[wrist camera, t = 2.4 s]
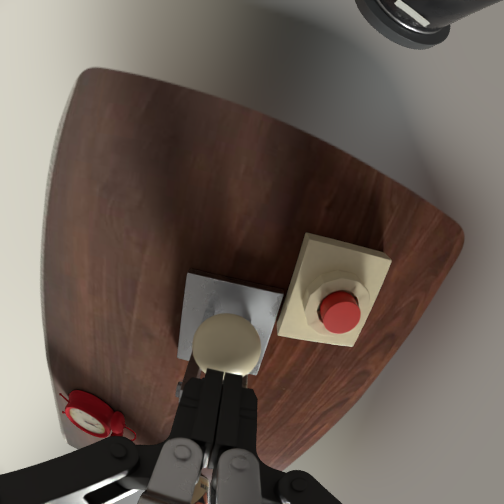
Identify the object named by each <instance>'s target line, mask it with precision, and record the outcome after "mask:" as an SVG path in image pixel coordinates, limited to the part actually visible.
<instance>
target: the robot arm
mask: <svg viewBox="0 0 504 504" xmlns="http://www.w3.org/2000/svg"><path fill="white" fill-rule="evenodd" d="M500 1H502V0H375V2H376V4H377V5H378V6H379V8H380V9H381V10H382V11H383V12H384V13H385V14H386V15H387V16H388V17H389V18H390V19H391V20H392V21H394V22H395V23H396V24H398V25H399V26H401V27H403V28H404V29H406V30H408V31H411V32H413V33H417V34H421V35H431V34H434V33H436V32H438V31H440V30H441V29H442V28H444V27H445V26H447V25H449V24H452V23H454V22H456V21H458V20H460V19H462V18H464V17H466V16H468V15H470V14H472V13H475V12H477V11H479V10H481V9H483V8H486V7H488V6H490V5H493V4H495V3H497V2H500ZM223 376H224V379H223ZM242 379H243V375H239V374H234V373H229V372H225V375H224V372H223V371H219V370H214V369H209V368H207V370H206V375H205V379H204V380H203V379H199V378H194V377H192V378H191V379H190V380H189V381H188V382H187V383H186V384H185V385H184V388H183V391H182V395H181V398H180V402H179V405H178V409H177V412H176V416H175V419H174V423H173V426H172V430H171V433H170V435H169V437H168V438H167V439H166V440H165V441H164V442H162V443H159V444H156V445H135V444H134V443H133V442H132V441H131V440H130V439H128V438H126V437H123V436H110V437H108V438H105V439H103V440H101V441H98V442H96V443H93V444H91V445H89V446H86V447H84V448H81V449H79V450H76V451H73V452H71V453H68V454H66V455H63V456H61V457H57V458H54V459H52V460H49V461H46V462H43V463H40V464H37V465H34V466H30V467H27V468H24V469H20V470H17V471H13V472H9V473H6V474H2V475H0V504H112V503H114V502H116V501H118V500H120V499H122V498H124V497H126V496H128V495H130V494H132V493H134V492H136V491H138V490H145V492H143V493H142V495H141V496H140V498H139V501H138V503H137V504H191V500H192V497H193V493H194V489H195V486H196V484H197V483H198V481H199V477H200V474H201V470H202V467H203V468H206V465H207V462H208V468H209V469H213V473H212V480H211V483H210V491H209V504H342V503H341V502H340V501H339V500H338V499H336V498H335V497H334V496H333V495H332V494H331V493H330V492H328V490H326V489H325V488H324V487H323V486H322V485H321V484H320V483H319V482H318V481H317V480H316V479H315V478H314V477H313V476H311V475H310V474H309V473H307V472H305V471H301V470H293V471H289V472H287V473H285V472H282V471H279V470H276V469H273V468H271V467H269V466H267V465H265V464H264V463H263V462H262V461H261V460H260V459H259V457H258V455H257V452H256V433H257V397H256V395H255V393H254V391H253V389H249V388H243V387H242ZM222 382H223V383H222ZM208 458H209V461H208Z"/></svg>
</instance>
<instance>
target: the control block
mask: <svg viewBox="0 0 504 504" xmlns="http://www.w3.org/2000/svg"><path fill="white" fill-rule="evenodd" d="M391 261H392V260H391V259H390V258H389V257H388V256H387V255H386V254H385V253H384V252H380V251H377V250H373V249H369V248H365V247H362V246H358V245H354V244H350V243H346V242H343V241H339V240H335V239H331V238H327V237H323V236H319V235H315V234H311V233H307V232H306V233H305V236H304V240H303V243H302V246H301V250H300V253H299V256H298V260H297V263H296V266H295V269H294V272H293V276H292V279H291V282H290V285H289V288H288V291H287V294H286V297H285V301H284V304H283V307H282V310H281V313H280V316H279V319H278V322H277V334H278V335H279V336H285V337H290V338H296V339H302V340H308V341H315V342H321V343H328V344H335V345H342V346H350V347H353V345H354V343H355V341H356V339H357V337H358V335H359V333H360V331H361V329H362V327H363V325H364V323H365V321H366V319H367V317H368V315H369V313H370V310H371V308H372V306H373V304H374V302H375V299H376V297H377V295H378V293H379V290H380V288H381V286H382V283H383V281H384V279H385V276H386V274H387V271H388V269H389V266H390V264H391ZM338 291H343V292H347V293H349V294H351V295H352V296H353V297H354V299H355V301H356V303H357V305H358V307H359V308H360V311H361V317H360V320H359V322H358V324H357V325H356V326H355V327H354V328H353V329H352V330H350V331H349V332H346V333H343V334H335V333H331V332H329V331H328V330H327V329H326V328H325V326H324V324H323V320H322V317H321V314H320V306H321V303H322V301H323V300H324V299H325V298H326V297H327V296H328V295H330V294H331V293H334V292H338Z"/></svg>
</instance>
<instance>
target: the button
mask: <svg viewBox="0 0 504 504" xmlns="http://www.w3.org/2000/svg"><path fill="white" fill-rule="evenodd" d="M320 314H321V317H322V320H323V324H324V326H325V328H326V329H327V330H328V331H329V332H331V333H335V334H343V333H346V332H349V331H350V330H352V329H353V328H354V327H355V326H356V325H357V324H358V322H359V320H360V317H361V311H360V308H359V307H358V305H357V303H356V301H355V299H354V297H353V296H352V295H351V294H349V293H347V292H343V291H338V292H334V293H331V294H330V295H328V296H327V297H326V298H325V299H324V300H323V301H322V303H321V306H320Z"/></svg>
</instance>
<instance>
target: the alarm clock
mask: <svg viewBox="0 0 504 504" xmlns="http://www.w3.org/2000/svg"><path fill="white" fill-rule="evenodd" d="M59 395H61V396H62V397H63V398H64V399H65V400H66V401H67V402H68V404H67V405H66V407H65V412H64V411H62V413H65V414H66V415H67V417H68V418H69V420H70V421H71V422H72V423H73V424H74V425H76V426H77V427H78V428H80V429H81V430H83V431H84V432H86V433H88V434H90V435H93V436H96V437H100V438H105V437H107V436H108V435H109V434H110V431H111V429H112V431H113V432H112V434H111V436H123V429H124V427H125V428H127V429H129V428H128V427H126V424H125V418H124V415H123V414H122V413H121V412H119V411H116V412H114V411H113V410H112V409H111V408H110V407H109V406H108V405H107V404H106V403H105V402H103V401H102V400H100V399H99V398H97V397H96V396H94V395H92V394H90V393H87V392H84V391H81V390H74V391H72V392H71V393H70V394H69V401H68V400H67V399H66V398H65V397H64V396H63V395H62V394H61V393H60V394H59ZM129 430H130V431H132V432H133V433H134V434H135V438H134V439H133V440H131V441H134V440H135V439H136V433H135V432H134V431H133V430H131V429H129Z"/></svg>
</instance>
